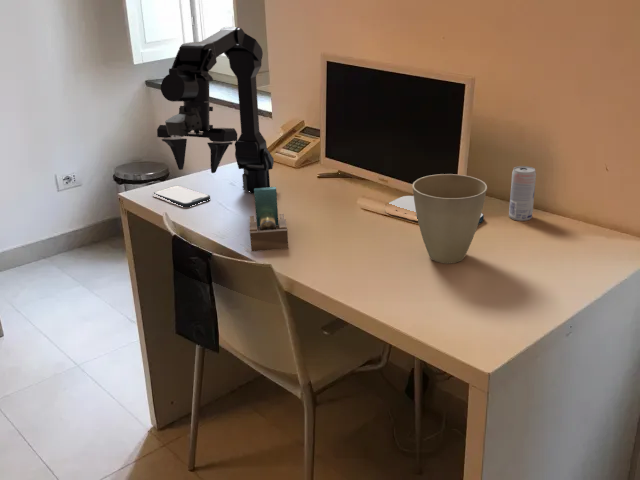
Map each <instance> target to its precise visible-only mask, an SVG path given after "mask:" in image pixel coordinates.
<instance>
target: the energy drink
mask: <svg viewBox="0 0 640 480" xmlns="http://www.w3.org/2000/svg"><path fill="white" fill-rule="evenodd" d="M536 177H537V172H536V168H534V167H532V166H526V165H519V166H515V167H513V170H512V173H511V184H510V186H511V187H510V197H509V209H508V217H509V218H510V219H512V220H513V221H517V222H519V221H520V222H525V221H530V220H532V218H533V212H534V198H535V189H536V180H537V178H536Z"/></svg>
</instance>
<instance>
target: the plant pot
mask: <svg viewBox="0 0 640 480" xmlns="http://www.w3.org/2000/svg"><path fill="white" fill-rule="evenodd" d="M487 190H488V186H487V184H486V182H485V181H483V180H481V179H479V178H476V177H474V176H470V175H464V174H456V173H455V174H453V173H445V174H444V173H440V174H432V175H431V174H430V175H426V176H423V177H420V178H417V179H416V180H415V181H413V182H412V193H413V194H412V196H414V203H415V209H416V214H417V215H416V216H417V219H418V222H417V223H418V226H419V230H420V233H421V237H422V240H423V243H424V246H425V249H426V252H427V253H428V256H429V258H430V259H431V260H432V261H434V262H435V263H436V262H437V263H441V264H455V263H458V262H461V261H463V260H464V258H465V256H466V255H467V253H468V251H469V249H470V245H471V244H472V242H473V239H474V236H475V234H476V231H477V229H478V226H479V225H478V223H479V220H480V216H481V213H482V212H483V208H484V204H485V200H486V196H487V195H486V194H487Z"/></svg>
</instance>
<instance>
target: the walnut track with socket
mask: <svg viewBox="0 0 640 480" xmlns="http://www.w3.org/2000/svg"><path fill="white" fill-rule="evenodd" d="M286 220H287V219H286V218H285V214H284V213H279V219H278V224H279V225H278V228H276V230H263V231H260V230H258V227H257V221H256V220H255V216H254V215H250V216H249V239H250V249H251V250H250V251H251V252H263V251H265V252H266V251H275V250H288V249H289V237H288V235H289V233H288V227H287V221H286Z"/></svg>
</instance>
